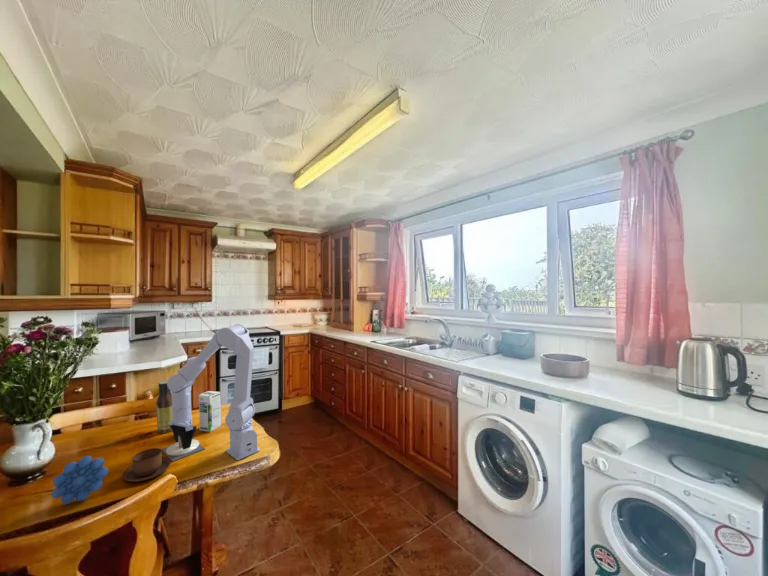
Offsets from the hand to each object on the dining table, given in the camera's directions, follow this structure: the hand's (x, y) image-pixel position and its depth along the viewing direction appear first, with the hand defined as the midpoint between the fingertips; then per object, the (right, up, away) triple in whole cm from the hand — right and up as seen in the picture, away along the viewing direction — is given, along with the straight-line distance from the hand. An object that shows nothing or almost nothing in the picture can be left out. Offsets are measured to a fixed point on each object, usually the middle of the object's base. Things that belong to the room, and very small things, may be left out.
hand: (182, 444), depth 113 cm
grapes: (-12, -3, -25) cm, 28 cm away
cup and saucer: (-2, -3, -14) cm, 14 cm away
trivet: (0, -2, 0) cm, 2 cm away
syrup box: (+1, -2, +16) cm, 17 cm away
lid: (0, -1, 0) cm, 1 cm away
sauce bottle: (-16, -2, +15) cm, 22 cm away
